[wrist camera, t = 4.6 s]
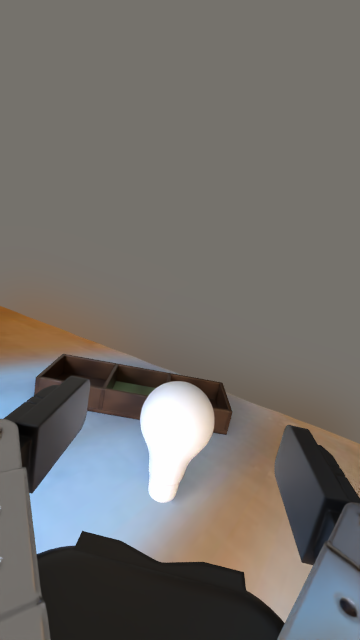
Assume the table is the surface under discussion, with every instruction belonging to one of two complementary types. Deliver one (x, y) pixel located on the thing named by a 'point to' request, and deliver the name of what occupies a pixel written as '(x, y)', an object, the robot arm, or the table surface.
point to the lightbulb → (174, 433)
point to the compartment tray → (128, 387)
